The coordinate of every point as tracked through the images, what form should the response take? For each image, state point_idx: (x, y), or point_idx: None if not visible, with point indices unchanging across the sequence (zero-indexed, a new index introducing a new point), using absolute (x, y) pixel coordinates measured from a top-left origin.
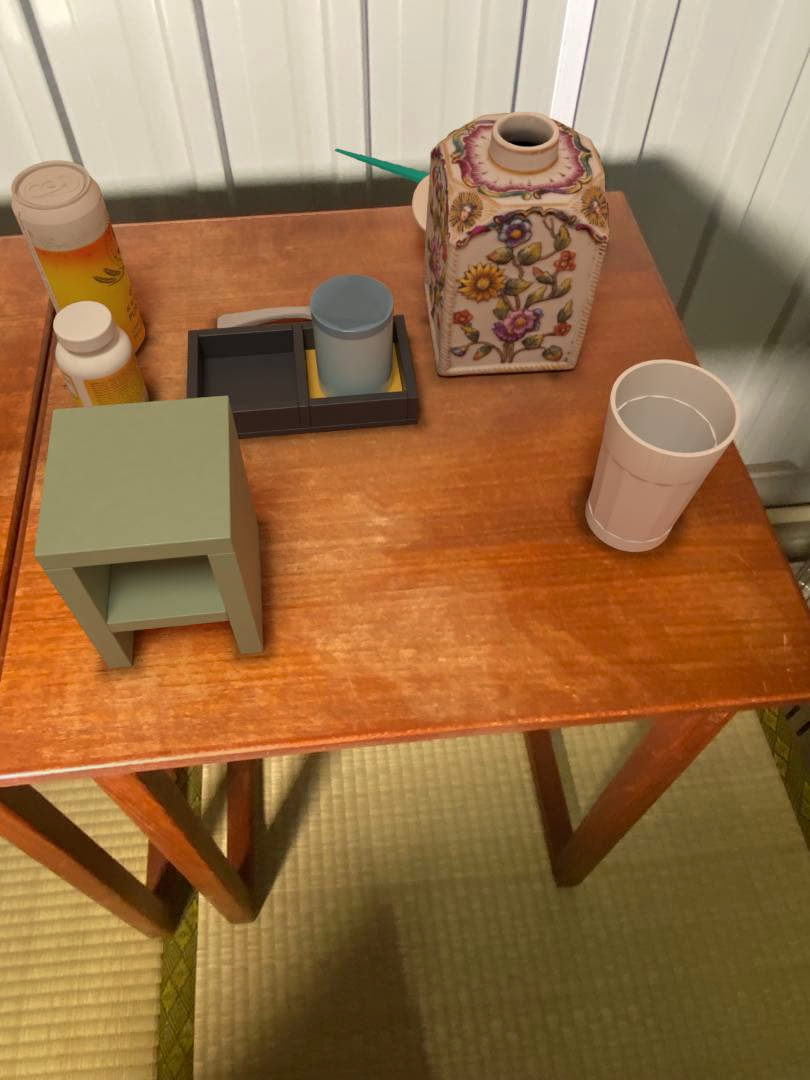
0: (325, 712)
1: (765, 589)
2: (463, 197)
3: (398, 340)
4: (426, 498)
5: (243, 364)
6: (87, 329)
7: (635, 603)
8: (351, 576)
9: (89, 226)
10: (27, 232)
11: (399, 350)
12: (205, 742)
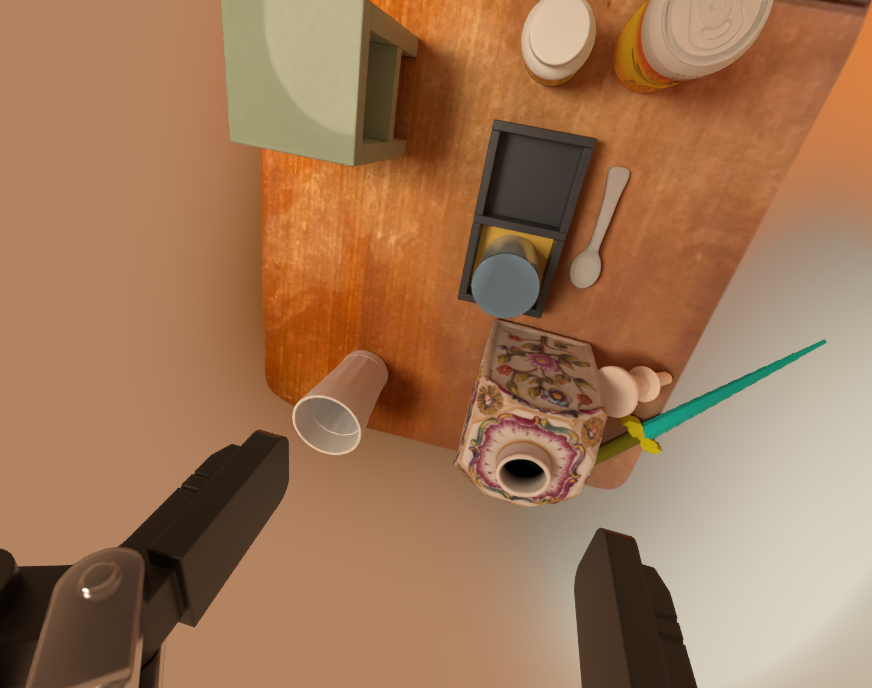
0: (274, 167)
1: None
2: (498, 405)
3: None
4: (402, 273)
5: (561, 180)
6: (543, 35)
7: (315, 348)
8: (356, 208)
9: (650, 54)
10: None
11: None
12: None
